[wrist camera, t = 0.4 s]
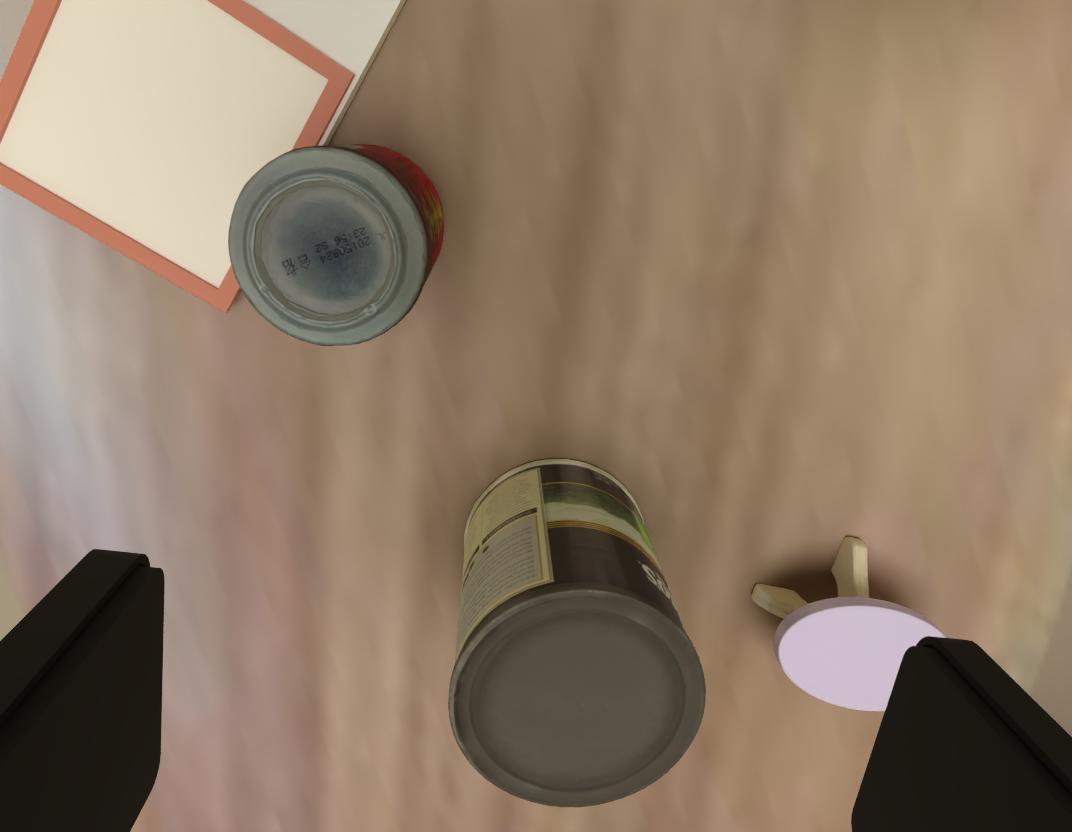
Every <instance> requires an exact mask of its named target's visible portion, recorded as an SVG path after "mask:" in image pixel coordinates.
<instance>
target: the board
mask: <svg viewBox="0 0 1072 832" xmlns="http://www.w3.org/2000/svg"><path fill="white" fill-rule="evenodd" d="M243 1H244V2H246V3H247V4H249V5H250V6H252V7H253V8H255V9H257V10H258V11H260V12H261V13H263V14H264V15H266V16H267V17H269V18H270V19H272V20H273V21H275V22H276V23H278V24H279V25H281V26H282V27H284V28H285V29H287V30H288V31H290V32H291V33H293V34H294V35H296V36H297V37H299V38H300V39H302V40H303V41H305V42H306V43H308V44H309V45H311V46H312V47H314V48H315V49H317V50H318V51H320V52H321V53H323V54H324V55H326V56H327V57H329V58H330V59H332V60H333V61H335V62H336V63H338V64H339V65H341V66H342V67H344V68H345V69H347V70H349V71H350V72H352V73H353V74H355V77H354V79H353V80H352V82H351V84H350V86H349V88H348V90H347V92H346V94H345V95H344V97H343V99H342V101H341V103H340V105H339V107H338V108H337V110H336V112H335V114H334V116H333V118H332V120H331V122H330V123H329V125H328V127H327V129H326V131H325V133H324V135H323V136H322V138H321V140H320V142H319V144H318V146H322V145H328V144H329V142H330V141H331V139H332V137H333V135H334V133H335V131H336V130H337V128H338V126H339V124H340V122H341V120H342V118H343V117H344V115H345V113H346V111H347V109H348V107H349V105H350V104H351V102H352V100H353V98H354V96H355V94H356V92H357V91H358V89H359V87H360V85H361V83H362V81H363V79H364V78H365V76H366V74H367V72H368V70H369V68H370V67H371V65H372V63H373V61H374V59H375V57H376V55H377V54H378V52H379V50H380V48H381V46H382V44H383V42H384V41H385V39H386V37H387V35H388V33H389V31H390V29H391V28H392V26H393V24H394V22H395V20H396V18H397V17H398V15H399V13H400V11H401V9H402V7H403V5H404V4H405V2H406V0H243Z"/></svg>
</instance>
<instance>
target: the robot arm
mask: <svg viewBox="0 0 1072 832" xmlns="http://www.w3.org/2000/svg"><path fill="white" fill-rule="evenodd" d="M163 622H164V573H163V570H162V569H161V568H153V567H150V563H149V559H148V557H147V556H146V555H145V554H138V553H128V552H119V551H109V550H99V549H93V550H92V551H90V552H89V553H88V554H87V555H86V556H85V557H84V558H83V559H82V560H81V561H80V562H79V563H78V564H77V565H76V566H75V567H74V568H73V569H72V570H71V571H70V572H69V573H68V574H67V575H66V576H65V577H64V578H63V579H62V580H61V581H60V582H59V583H58V584H57V585H56V586H55V587H54V588H53V589H52V590H51V591H50V592H49V593H48V594H47V595H46V596H45V597H44V598H43V599H42V600H41V601H40V602H39V603H38V604H37V605H36V606H35V607H34V608H33V609H32V610H31V611H30V612H29V613H28V614H27V615H26V616H25V617H24V618H23V619H22V620H21V621H20V622H19V623H18V624H17V625H16V626H15V627H14V628H13V629H12V630H11V631H10V632H9V633H8V634H7V635H6V636H5V637H4V638H3V639H2V640H1V641H0V832H130V830H131V829H132V827H133V825H134V823H135V821H136V819H137V817H138V815H139V813H140V811H141V809H142V808H143V806H144V804H145V802H146V800H147V798H148V796H149V794H150V792H151V790H152V788H153V786H154V783H155V780H156V777H157V773H158V769H159V764H160V755H161V712H162V667H163ZM851 824H852V832H1072V737H1071V736H1070V735H1069V734H1068V733H1067V732H1066V731H1065V730H1064V729H1063V728H1062V727H1061V726H1060V725H1059V724H1058V723H1057V722H1056V721H1055V720H1054V719H1053V718H1052V717H1051V716H1050V715H1049V714H1048V713H1047V712H1046V711H1044V710H1043V709H1042V708H1041V707H1040V706H1039V705H1038V704H1037V703H1036V702H1035V701H1034V700H1033V699H1032V698H1031V697H1030V696H1029V695H1028V694H1027V693H1026V692H1025V691H1024V690H1023V689H1022V688H1021V687H1020V686H1019V685H1018V684H1017V683H1016V682H1015V681H1014V680H1013V679H1012V678H1011V677H1010V676H1009V675H1008V674H1007V673H1006V672H1005V671H1004V670H1003V669H1002V668H1001V667H1000V666H999V665H998V664H997V663H996V662H995V661H994V660H993V659H992V658H991V657H990V656H989V655H988V654H987V653H986V652H985V651H984V650H983V649H981V648H980V647H979V646H978V645H977V644H976V643H974V642H973V641H969V640H961V639H951V638H942V637H932V636H926V637H924V638H922V639H921V640H920V641H919V642H918V643H917V645H916V646H911V647H909V648H908V649H907V650H906V651H905V653H904V656H903V658H902V661H901V664H900V667H899V670H898V673H897V676H896V679H895V682H894V686H893V689H892V692H891V695H890V698H889V701H888V704H887V707H886V710H885V713H884V716H883V719H882V722H881V725H880V728H879V731H878V734H877V737H876V740H875V744H874V747H873V750H872V753H871V756H870V759H869V762H868V765H867V768H866V771H865V774H864V777H863V780H862V783H861V786H860V789H859V792H858V795H857V799H856V802H855V805H854V808H853V812H852V821H851Z"/></svg>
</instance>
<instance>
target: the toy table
mask: <svg viewBox="0 0 1072 832" xmlns="http://www.w3.org/2000/svg"><path fill="white" fill-rule="evenodd" d="M831 572H832V574H833V575H834V577H835V580H836V583H837V587H838V598H830V599H824V600H819V601H816V602H812V603H807V602H806V601H805V600H803V599H802V598H801V597H800V596H799V595H798V594H797V593H796V592H795V591H793V590H790V589H785V588H780V587H774V586H770V585H764V584H756V585H755V587H754V590H753V593H752V599H753V601H754V602H755V603H756V604H758V605H759V606H760V607H762V608H764V609H766V610H767V611H769V612H771V613H773V614H774V615H776V616H779V617H781V618H782V619H783V620H782V622H781V623H780V624H779V626H778V628H777V629H776V632H775V636H774V650H775V654H776V657H777V659H778V661H779V663H780V665H781V667H782V669H783V670H784V672H785V673H786V675H787V676H788V677H789V678H790V679H791V680H792V681H793V682H794V683H795V684H796V685H797V686H798V687H800V688H801V689H802V690H804V691H805V692H807V693H809V694H810V695H812V696H814V697H816V698H819V699H821V700H823V701H825V702H828V703H830V704H834V705H837V706H841V707H846V708H850V709H856V710H865V711H885V710H886V707H887V704H888V701H889V698H890V695H891V692H892V689H893V686H894V682H895V679H896V676H897V673H898V670H899V667H900V664H901V661H902V658H903V656H904V653H905V651H906V650H907V649H908V648H909V647H911V646H916V645H917V643H918V642H919V641H920V640H921V639H922V638H924V637H926V636H932V637H942V638H946V637H945V635H944V634H943V633H942V632H941V631H940V630H939V629H938V628H937V627H936V626H935V625H934V624H933V623H932V622H931V621H929V620H928V619H927V618H926V617H924V616H922V615H921V614H919V613H917V612H915V611H913V610H911V609H909V608H906V607H904V606H901V605H899V604H895V603H893V602H889V601H885V600H879V599H873V598H870V596H869V586H868V566H867V548H866V545H865V543H864V542H863V541H862V540H861V539H857V538H853V537H845V538H844V540H843V543H842V545H841V547H840V550H839V552H838V555H837V557H836V560H835V562H834V564H833V567H832V569H831Z"/></svg>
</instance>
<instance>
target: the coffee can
mask: <svg viewBox="0 0 1072 832" xmlns="http://www.w3.org/2000/svg"><path fill="white" fill-rule="evenodd" d="M705 694H706V689H705V679H704V674H703V669H702V666H701V663H700V660H699V657H698V655H697V652H696V650H695V648H694V646H693V644H692V642H691V641H690V639H689V637H688V635H687V634H686V632H685V630H684V628H683V625H682V622H681V619H680V617H679V615H678V612H677V609H676V606H675V604H674V602H673V599H672V596H671V594H670V591H669V589H668V586H667V583H666V581H665V579H664V576H663V574H662V571H661V568H660V566H659V563H658V560H657V558H656V555H655V553H654V550H653V548H652V545H651V542H650V540H649V537H648V534H647V532H646V529H645V525H644V522H643V518H642V514H641V512H640V510H639V507H638V505H637V503H636V501H635V500H634V498H633V497H632V495H631V494H630V493H629V492H628V490H627V489H626V488H625V487H624V486H623V485H622V484H621V483H620V482H619V481H618V480H617V479H616V478H614V477H613V476H611V475H610V474H609V473H607V472H606V471H604V470H602V469H600V468H598V467H595V466H593V465H590V464H588V463H584V462H580V461H575V460H569V459H545V460H538V461H534V462H530V463H526V464H524V465H521V466H519V467H517V468H514V469H512V470H510V471H508V472H507V473H505V474H503V475H502V476H500V477H499V478H498V479H497V480H495V481H494V482H493V483H492V484H491V485H490V486H489V487H488V488H487V489H486V490H485V491H484V492H483V493H482V494H481V495H480V497H479V498H478V499H477V501H476V503H475V504H474V506H473V508H472V511H471V513H470V515H469V517H468V520H467V524H466V529H465V533H464V564H463V576H462V588H461V598H460V612H459V623H458V634H457V645H456V657H455V666H454V669H453V673H452V676H451V681H450V688H449V701H448V709H449V718H450V723H451V728H452V731H453V734H454V737H455V739H456V742H457V744H458V746H459V748H460V749H461V751H462V753H463V754H464V756H465V757H466V759H467V760H468V761H469V763H470V764H471V765H472V766H473V767H474V768H475V769H476V771H477V772H478V773H480V774H481V775H482V776H483V777H484V778H485V779H486V780H488V781H489V782H491V783H492V784H494V785H495V786H497V787H498V788H500V789H502V790H504V791H506V792H508V793H509V794H511V795H514V796H516V797H519V798H522V799H525V800H528V801H531V802H535V803H539V804H543V805H548V806H556V807H585V806H594V805H599V804H603V803H607V802H611V801H614V800H618V799H621V798H624V797H626V796H629V795H631V794H634V793H636V792H638V791H640V790H642V789H644V788H646V787H647V786H649V785H650V784H652V783H654V782H655V781H657V780H658V779H660V778H661V777H662V776H663V775H664V774H665V773H667V772H668V771H669V770H670V769H671V768H672V767H673V766H674V765H675V764H676V763H677V762H678V761H679V759H680V758H681V757H682V756H683V754H684V753H685V752H686V750H687V749H688V747H689V746H690V744H691V742H692V741H693V739H694V738H695V735H696V733H697V731H698V729H699V727H700V724H701V721H702V717H703V713H704V708H705Z"/></svg>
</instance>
